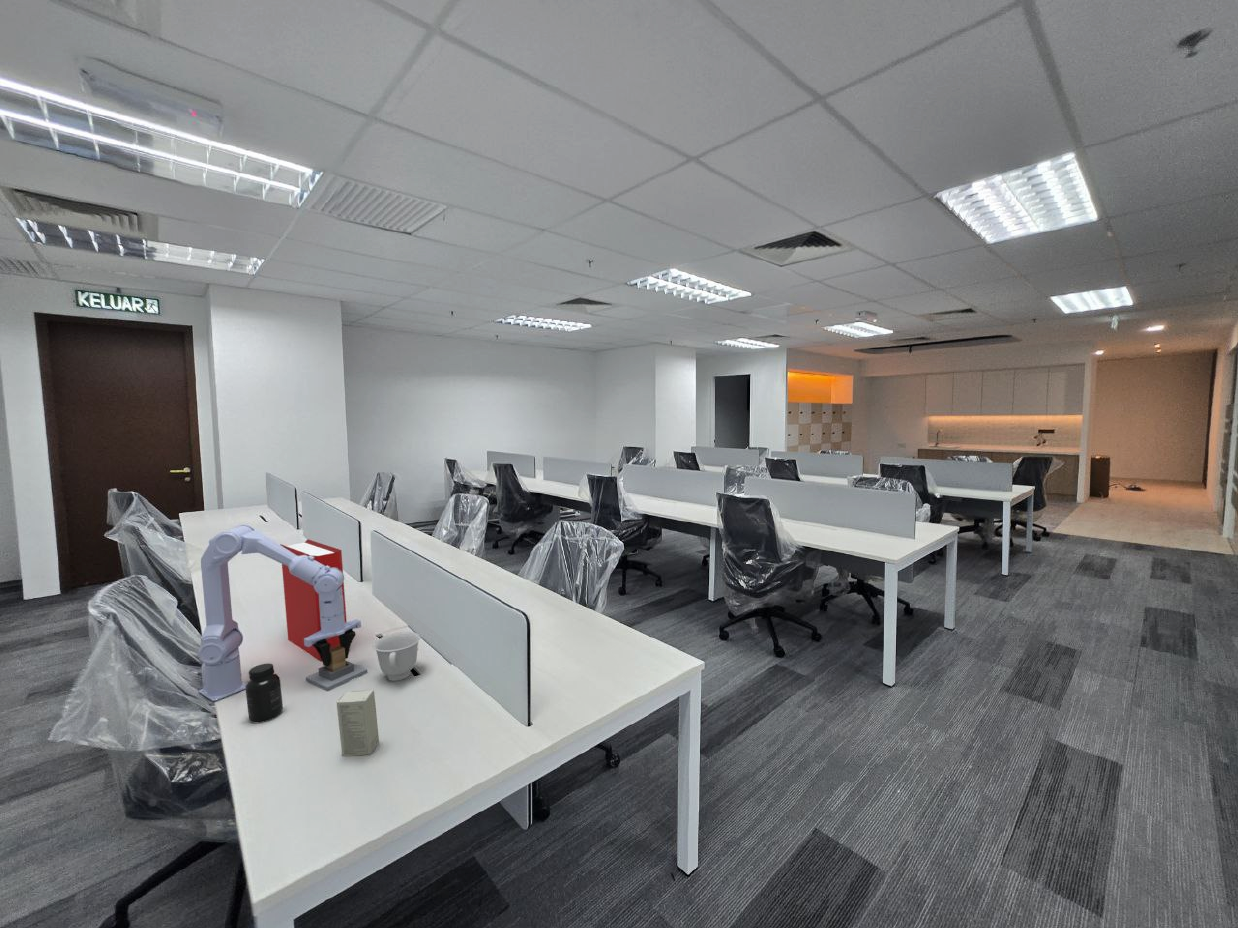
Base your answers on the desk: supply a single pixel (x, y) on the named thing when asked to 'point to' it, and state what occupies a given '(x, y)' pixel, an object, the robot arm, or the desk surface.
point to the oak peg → (336, 658)
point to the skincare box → (357, 722)
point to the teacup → (397, 654)
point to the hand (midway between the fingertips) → (335, 661)
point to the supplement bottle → (263, 693)
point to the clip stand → (335, 676)
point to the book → (308, 596)
